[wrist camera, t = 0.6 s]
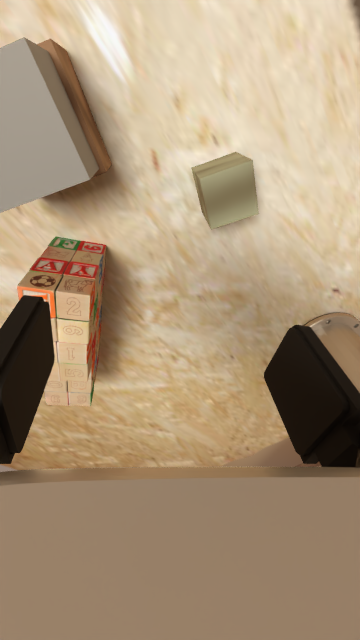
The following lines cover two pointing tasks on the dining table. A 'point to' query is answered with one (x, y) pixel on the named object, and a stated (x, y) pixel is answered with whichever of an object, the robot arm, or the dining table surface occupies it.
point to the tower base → (78, 103)
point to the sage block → (226, 189)
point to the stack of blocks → (70, 314)
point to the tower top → (37, 129)
